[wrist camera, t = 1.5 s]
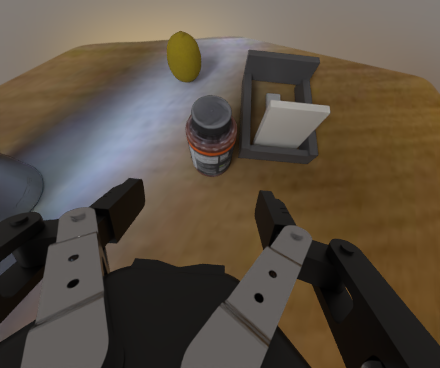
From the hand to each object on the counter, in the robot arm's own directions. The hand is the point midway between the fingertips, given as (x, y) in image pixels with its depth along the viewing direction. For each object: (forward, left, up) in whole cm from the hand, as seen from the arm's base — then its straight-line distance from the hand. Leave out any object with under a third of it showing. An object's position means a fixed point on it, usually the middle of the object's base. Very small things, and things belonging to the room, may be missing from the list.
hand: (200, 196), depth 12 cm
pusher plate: (+10, +18, -13) cm, 24 cm away
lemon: (-6, +25, -13) cm, 29 cm away
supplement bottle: (0, +9, -14) cm, 16 cm away
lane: (+10, +18, -13) cm, 25 cm away
